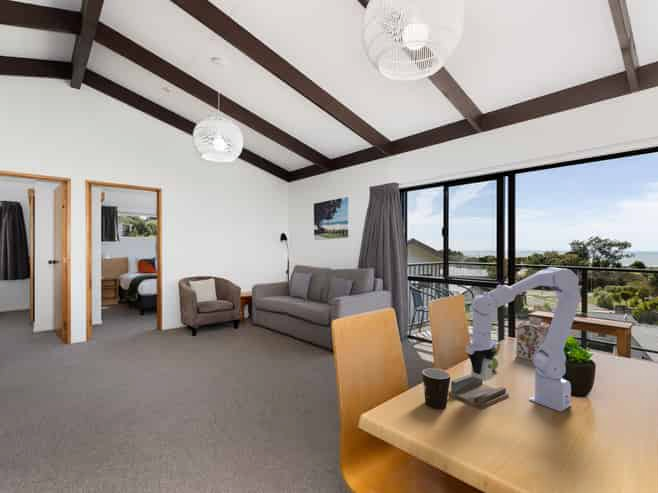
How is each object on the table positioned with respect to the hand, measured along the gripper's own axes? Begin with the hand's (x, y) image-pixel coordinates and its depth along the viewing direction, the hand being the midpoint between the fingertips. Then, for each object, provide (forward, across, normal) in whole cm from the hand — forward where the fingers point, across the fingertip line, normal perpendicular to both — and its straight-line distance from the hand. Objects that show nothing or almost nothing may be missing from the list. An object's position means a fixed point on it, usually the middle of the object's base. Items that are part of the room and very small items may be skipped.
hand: (480, 371), depth 115 cm
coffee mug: (+9, +19, -4) cm, 21 cm away
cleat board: (+8, 0, -1) cm, 8 cm away
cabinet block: (+2, 0, 0) cm, 2 cm away
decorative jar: (+9, -58, -10) cm, 60 cm away
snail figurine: (+9, -27, -12) cm, 31 cm away
